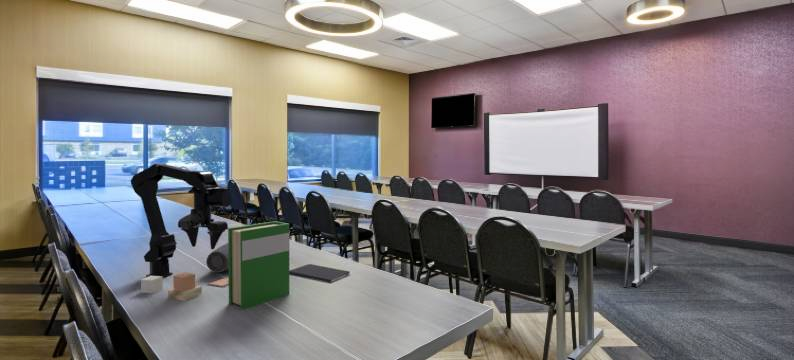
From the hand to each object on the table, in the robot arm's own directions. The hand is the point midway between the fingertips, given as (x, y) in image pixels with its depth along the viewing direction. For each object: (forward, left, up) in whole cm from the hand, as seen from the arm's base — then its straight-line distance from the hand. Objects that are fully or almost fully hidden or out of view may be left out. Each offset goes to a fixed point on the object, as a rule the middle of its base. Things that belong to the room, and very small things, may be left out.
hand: (203, 247), depth 154 cm
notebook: (+34, +25, -13) cm, 44 cm away
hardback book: (+32, -7, -12) cm, 35 cm away
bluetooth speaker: (-4, +17, -12) cm, 21 cm away
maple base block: (+8, -15, -12) cm, 21 cm away
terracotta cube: (+8, -15, -10) cm, 20 cm away
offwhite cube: (-6, -16, -12) cm, 21 cm away
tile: (+9, 0, -12) cm, 15 cm away
